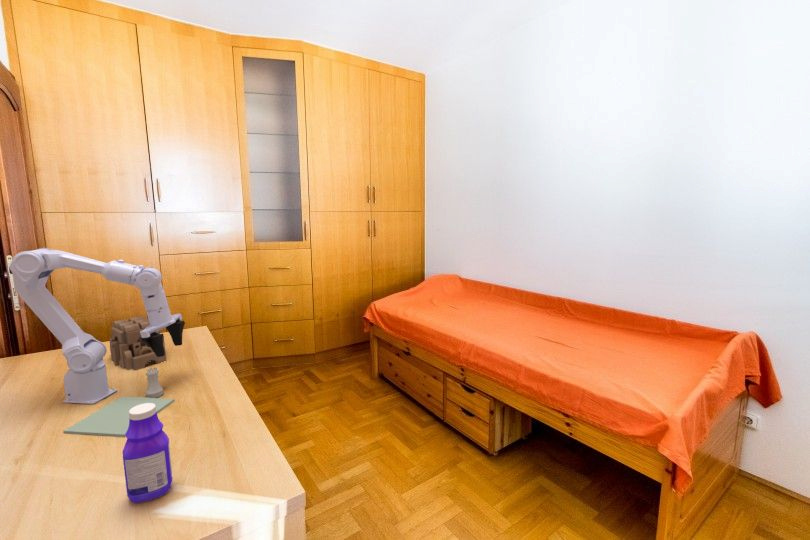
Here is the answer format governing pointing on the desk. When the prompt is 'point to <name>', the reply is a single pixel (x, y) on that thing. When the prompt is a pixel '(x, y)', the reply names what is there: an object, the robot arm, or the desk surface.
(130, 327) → the wooden puzzle
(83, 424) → the mat
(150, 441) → the bottle
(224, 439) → the desk surface
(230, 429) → the desk surface
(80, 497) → the desk surface
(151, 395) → the rook chess piece
